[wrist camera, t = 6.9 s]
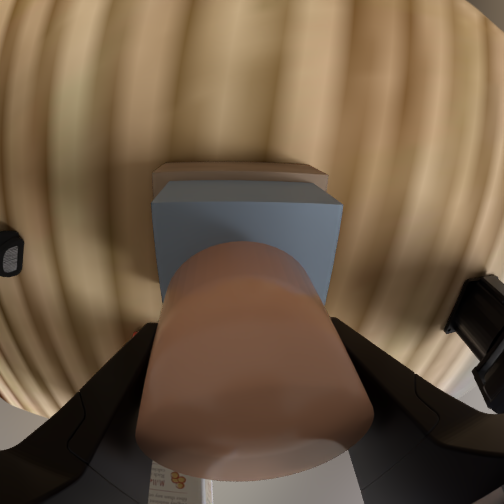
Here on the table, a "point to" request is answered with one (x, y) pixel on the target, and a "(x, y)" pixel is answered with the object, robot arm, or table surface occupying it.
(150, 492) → the cracker box
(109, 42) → the table surface
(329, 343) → the terracotta cylinder
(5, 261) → the electric trimmer
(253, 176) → the tower base
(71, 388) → the table surface
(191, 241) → the tower middle
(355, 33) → the table surface
